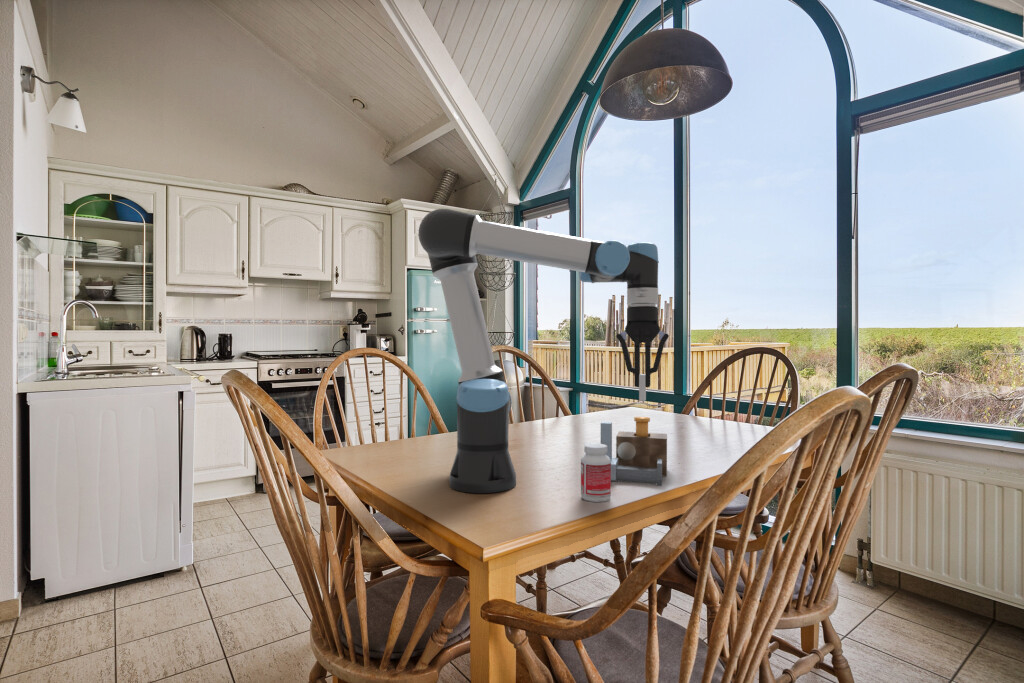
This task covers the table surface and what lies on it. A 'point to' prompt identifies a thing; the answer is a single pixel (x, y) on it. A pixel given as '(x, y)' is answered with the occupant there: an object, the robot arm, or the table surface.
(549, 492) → the table surface
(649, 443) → the cabinet
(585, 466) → the pill bottle
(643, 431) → the peg
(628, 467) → the grey u-shaped bracket
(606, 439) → the carriage
